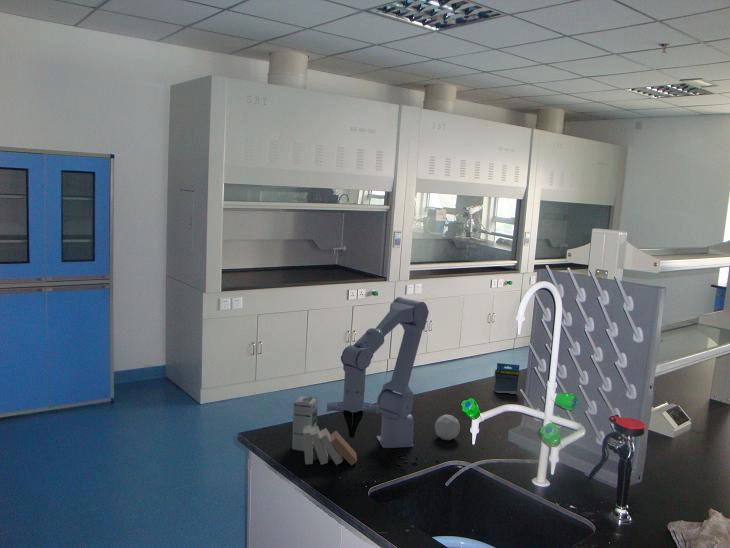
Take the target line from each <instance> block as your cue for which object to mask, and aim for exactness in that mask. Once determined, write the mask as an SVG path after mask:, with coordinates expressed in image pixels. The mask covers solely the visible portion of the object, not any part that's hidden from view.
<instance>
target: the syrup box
mask: <svg viewBox="0 0 730 548" xmlns="http://www.w3.org/2000/svg"><path fill="white" fill-rule="evenodd" d="M318 400H319V399H318V397H314V396H308V395H306V396H305V395H300V396H299V397H298V398H297V399H296V400H295V401H293V408H292V410H293V411H292V413H293V415H292V443H291V445H292V447H291V448H292V450H296V451H300V452H304V439H303V429H304V426H311V428H313V427H316V426H318V407H319V405H318V403H319V402H318ZM312 448H313V449H315V446H314V443H313V440H312Z"/></svg>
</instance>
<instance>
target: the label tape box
mask: <svg viewBox="0 0 730 548" xmlns="http://www.w3.org/2000/svg"><path fill="white" fill-rule="evenodd" d="M507 367H508V368H507ZM519 377H520V365H519V364H512V363H502V362H497V363H496V369H495V370H494V376H493V387H492V390H493V389H494V391H516V392H517V393H518V386H519ZM494 391H493V392H494Z"/></svg>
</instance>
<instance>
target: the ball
mask: <svg viewBox="0 0 730 548" xmlns="http://www.w3.org/2000/svg"><path fill="white" fill-rule="evenodd" d="M434 424H435V425H434V430H435V433H436V435H437V437H439V438H441V440H445V441H451V440H453V439H456V437H457V436H458V435H459V434H460V430H461V425H460V423H459V420H458V419H457V418H456V417H455V416H453V414H452V415H450V414H446V413H445V414H444V415H441V416H439V417H438V418H437V420H436V421H435V423H434Z"/></svg>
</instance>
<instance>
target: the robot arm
mask: <svg viewBox="0 0 730 548" xmlns="http://www.w3.org/2000/svg"><path fill="white" fill-rule="evenodd" d="M429 314H430V311H429V307H428V305H427V304H426V303H425V302H424V301H418V300H413V299H408V298H403V297H401V296H397V297H396V298H395V299H394V300H393V302H391V303H390V306H389V311H388V312H387V314H386V315H385V316H384V317H383V318H382V320H381V321H380V322H379V323H378V324H377V326H376V327H375V328H371V327H370V328H368V329H367V330H366V331H365V333H364V334H363V335H362V336H361V337H360V338H358V340H356V342H355V343H353V345H352V344H351V345H348V346H346V347H345V348H344V349H343V350H342V353H341V356H340V362H341V364H342V366H343V368H342V369H343V371H344V377H343V378H344V380H343V381H344V382H343V395H342V396H343V398H342V401H334V402H332V401H331V402H330V401H329V402H326V412H327V413H328V412H330V413H331V412H342V413H343V418H344V420H345V423H346V426H347V430H348V437H349V438H354V439H355V435H356V431H357V428H358V426H359V425H360V422H361V421H362V419H363V417H364V414H363V413H375V414H380V413H381V425H380V426H381V427H380V428H381V429H380V435H376V439H377V440H378V443H379V445H380V446H381V447H382V448H383V449H392V448H393V449H397V448H414V444H413V443H414V442H413V441H414V432H415V431H414V430H415V423H414V417H413V415H412V413H411V412H412V411H413V408H414V403H413V402H414V397H415V396H414V395H415V394H414V392H413V390H412V389H411V387H410V386H409V382H410V379H411V375H412V373H413V368H414V365H415V360H416V356H417V353H418V349H419V345H420V342H421V339H422V335H423V331H424V330H425V328H426V324H427V319H428V317H429ZM398 325H401V326H402V328H403V335H402V339H401V343H400V346H399V351H398V353H397V357H396V360H395V364H394V369H393V373H392V375H391V379H390V381H388V382H386V383H384V384H383V385H382V388H381V390H380V393H379V394H378V396H377V399H376V403H371V402H365V388H366V387H365V385H366V371H367V370H366V369H367V368H369V366H370V365H371V361H372V359H373V357H374V354H375V353H376V352H377V351H378V350H379V349H380V348H381V347H382V346H383V345H384V344H385V337H386V335H388V334H390V332H392V331H393V330H394V329H395V328H396V327H397V326H398Z"/></svg>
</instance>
